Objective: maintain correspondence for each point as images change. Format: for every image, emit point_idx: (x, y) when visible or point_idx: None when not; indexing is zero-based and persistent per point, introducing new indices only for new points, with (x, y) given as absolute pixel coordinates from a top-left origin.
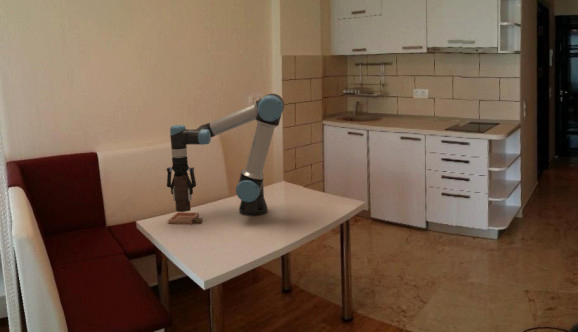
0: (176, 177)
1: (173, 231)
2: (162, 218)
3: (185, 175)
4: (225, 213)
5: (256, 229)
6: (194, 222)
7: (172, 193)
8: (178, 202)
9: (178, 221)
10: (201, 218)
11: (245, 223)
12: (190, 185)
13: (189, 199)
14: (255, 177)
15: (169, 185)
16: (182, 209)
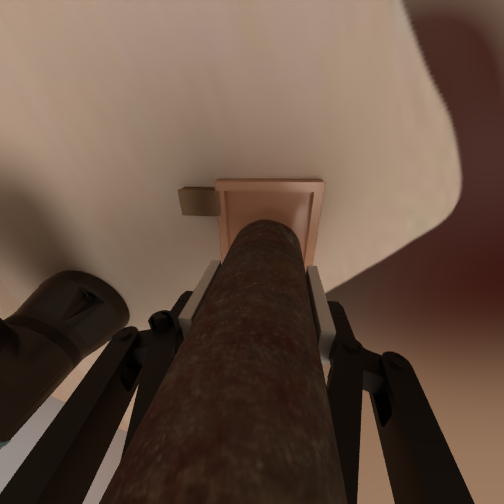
0: (266, 498)
1: (268, 61)
2: (362, 247)
3: None
4: (157, 291)
5: None
6: (208, 188)
7: (331, 305)
8: (275, 240)
9: (274, 181)
10: (184, 212)
11: (39, 201)
12: (148, 344)
13: (210, 266)
14: None
15: (380, 370)
16: (257, 223)
